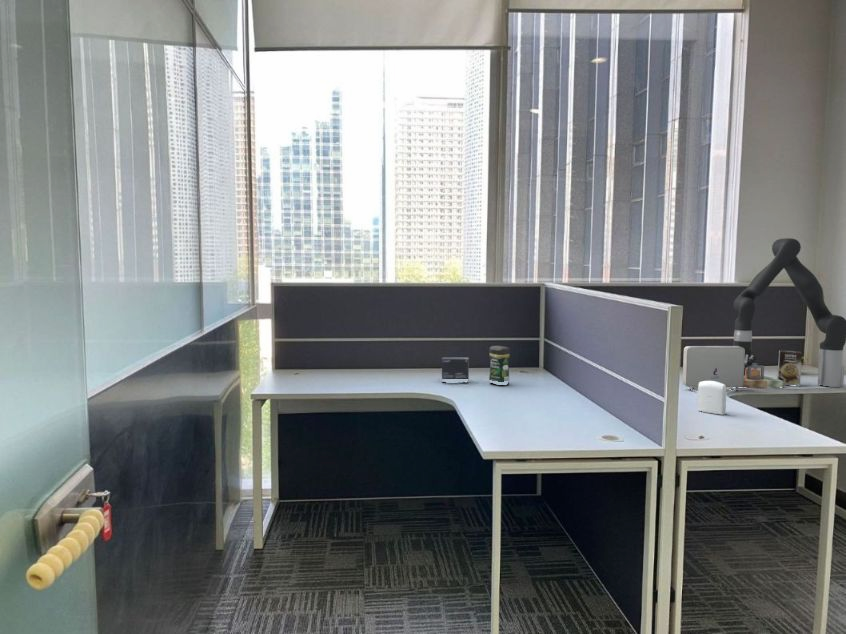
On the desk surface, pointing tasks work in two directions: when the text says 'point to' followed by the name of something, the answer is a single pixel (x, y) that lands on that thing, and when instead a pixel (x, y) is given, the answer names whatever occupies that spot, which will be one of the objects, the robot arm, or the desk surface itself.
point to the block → (752, 373)
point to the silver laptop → (713, 365)
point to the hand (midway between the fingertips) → (741, 376)
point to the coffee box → (789, 367)
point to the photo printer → (712, 397)
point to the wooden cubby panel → (763, 383)
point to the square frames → (755, 368)
